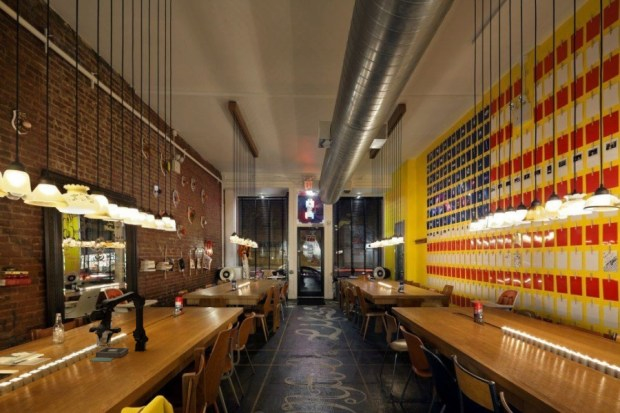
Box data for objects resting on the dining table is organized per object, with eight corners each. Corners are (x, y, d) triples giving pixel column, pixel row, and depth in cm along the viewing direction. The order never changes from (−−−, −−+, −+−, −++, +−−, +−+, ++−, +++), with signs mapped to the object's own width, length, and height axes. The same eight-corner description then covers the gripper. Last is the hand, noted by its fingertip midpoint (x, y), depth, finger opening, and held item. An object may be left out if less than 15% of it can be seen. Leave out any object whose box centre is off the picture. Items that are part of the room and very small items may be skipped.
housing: (128, 352, 275) (128, 348, 275) (119, 357, 261) (120, 353, 261) (105, 351, 274) (105, 347, 274) (95, 357, 260) (96, 352, 261)
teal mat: (113, 358, 258) (113, 358, 258) (108, 361, 251) (109, 361, 252) (95, 358, 258) (95, 357, 258) (90, 361, 251) (90, 360, 251)
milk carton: (110, 343, 296) (113, 318, 298) (104, 345, 288) (107, 319, 291) (101, 343, 296) (104, 317, 298) (96, 345, 289) (98, 319, 291)
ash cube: (108, 343, 258) (108, 337, 258) (105, 344, 254) (106, 338, 254) (102, 343, 258) (102, 336, 258) (99, 344, 254) (100, 338, 254)
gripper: (86, 320, 249) (83, 345, 247) (115, 322, 250) (112, 346, 248) (94, 317, 260) (91, 341, 258) (122, 318, 261) (120, 342, 259)
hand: (103, 343), depth 256 cm, fingers closed on ash cube, 4 cm apart
